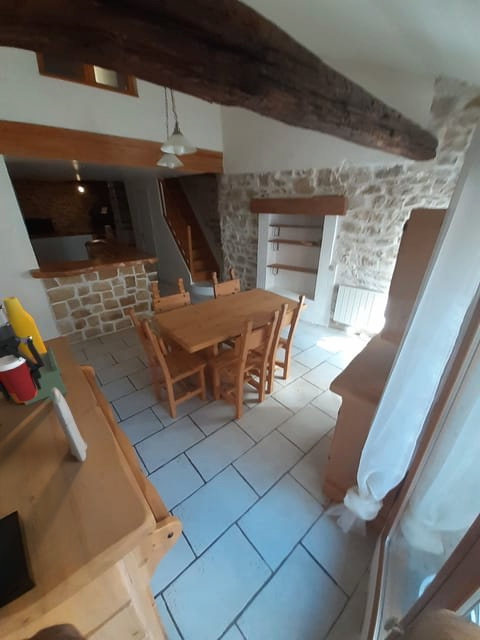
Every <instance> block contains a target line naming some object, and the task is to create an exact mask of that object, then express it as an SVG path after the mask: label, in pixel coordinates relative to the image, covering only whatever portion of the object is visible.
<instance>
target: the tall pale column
mask: <svg viewBox="0 0 480 640" xmlns="http://www.w3.org/2000/svg"><path fill="white" fill-rule="evenodd" d="M51 397H52V399H51V401H52V405H53V409H54V412H55V415H56V417H57V420H58V422H59V425H60V426H61V429H62V431H63V433H64V435H65V438H66V440H67V442H68V444H69V447H70V454H71V456H73V457H75V458H76V459H77V461H78V462H79V463H83V462H85V461H86V458H87V449H88V444H87V442H86V441H84V439H83V437H82V434H81V433H80V430H79V428H78V426H77V424H76V421H75V418H74V416H73V414H72V412H71V409H70V407H69V405H68V403H67V401H66V399H65V397H64V395H61V393H60V391H59V390H58V389H57V388H56V387H53V388H52V390H51Z"/></svg>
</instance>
